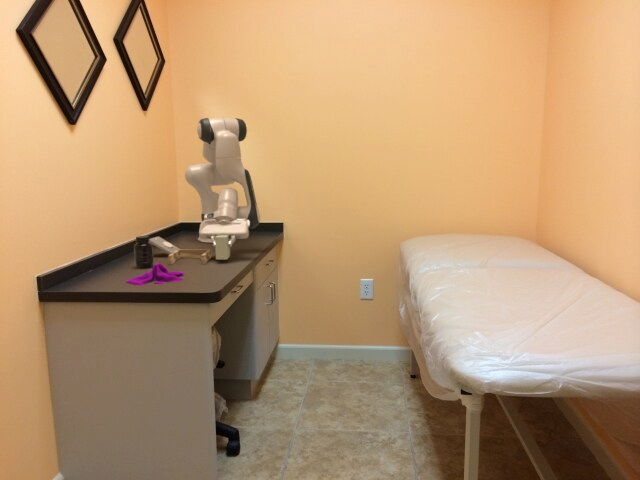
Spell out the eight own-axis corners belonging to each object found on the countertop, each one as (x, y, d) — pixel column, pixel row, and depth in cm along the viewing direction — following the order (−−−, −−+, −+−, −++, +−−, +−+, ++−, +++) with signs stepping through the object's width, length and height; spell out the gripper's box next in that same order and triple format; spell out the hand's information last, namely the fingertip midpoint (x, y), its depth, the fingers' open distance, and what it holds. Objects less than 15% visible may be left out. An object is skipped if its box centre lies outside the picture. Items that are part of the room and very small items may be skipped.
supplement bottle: (134, 265, 198) (132, 235, 196) (152, 264, 200) (150, 234, 198) (135, 269, 191) (133, 238, 189) (154, 267, 194) (152, 237, 192)
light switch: (177, 254, 212) (149, 237, 213) (172, 265, 213) (143, 249, 215) (186, 250, 220) (159, 234, 222) (181, 261, 222) (154, 245, 223)
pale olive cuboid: (219, 256, 207) (218, 234, 206) (230, 255, 207) (229, 234, 206) (215, 259, 200) (214, 237, 199) (227, 259, 200) (226, 237, 199)
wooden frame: (177, 257, 213) (177, 249, 212) (211, 257, 213) (211, 249, 212) (168, 264, 199) (167, 256, 198) (204, 264, 199) (203, 255, 198)
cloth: (119, 287, 167) (118, 269, 166) (139, 274, 185) (138, 258, 184) (185, 287, 167) (184, 269, 166) (199, 274, 185) (198, 257, 184)
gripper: (251, 223, 213) (248, 250, 205) (203, 224, 213) (199, 250, 205) (249, 214, 208) (247, 241, 200) (200, 214, 208) (196, 241, 200)
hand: (222, 246), depth 202 cm, fingers closed on pale olive cuboid, 4 cm apart
